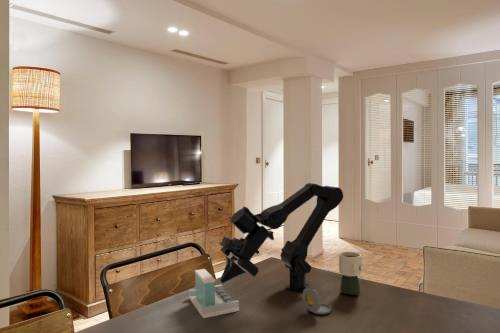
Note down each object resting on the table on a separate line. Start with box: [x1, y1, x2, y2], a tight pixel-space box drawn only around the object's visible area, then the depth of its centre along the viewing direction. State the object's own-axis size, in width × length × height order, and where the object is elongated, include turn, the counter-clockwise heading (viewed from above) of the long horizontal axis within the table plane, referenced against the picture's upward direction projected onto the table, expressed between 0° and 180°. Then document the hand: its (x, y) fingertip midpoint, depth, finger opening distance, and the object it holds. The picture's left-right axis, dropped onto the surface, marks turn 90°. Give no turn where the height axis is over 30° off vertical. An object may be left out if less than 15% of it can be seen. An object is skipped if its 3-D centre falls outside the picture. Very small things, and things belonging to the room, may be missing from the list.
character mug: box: [338, 250, 362, 296], centre depth 119 cm, size 11×7×13 cm, turn 179°
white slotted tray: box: [188, 283, 240, 319], centre depth 112 cm, size 11×15×3 cm
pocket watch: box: [302, 279, 332, 315], centre depth 106 cm, size 8×8×10 cm
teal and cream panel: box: [194, 268, 216, 307], centre depth 111 cm, size 3×10×8 cm, turn 24°
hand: (221, 281), depth 113 cm, fingers closed
